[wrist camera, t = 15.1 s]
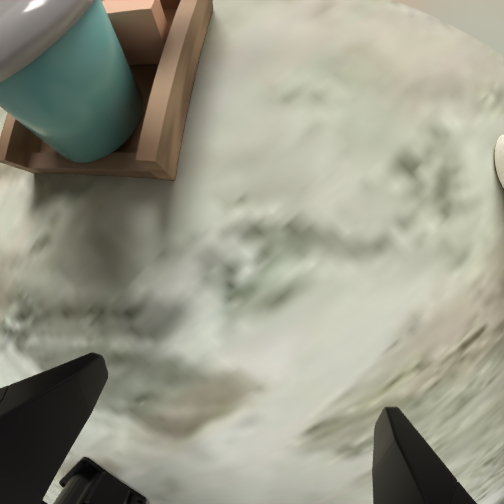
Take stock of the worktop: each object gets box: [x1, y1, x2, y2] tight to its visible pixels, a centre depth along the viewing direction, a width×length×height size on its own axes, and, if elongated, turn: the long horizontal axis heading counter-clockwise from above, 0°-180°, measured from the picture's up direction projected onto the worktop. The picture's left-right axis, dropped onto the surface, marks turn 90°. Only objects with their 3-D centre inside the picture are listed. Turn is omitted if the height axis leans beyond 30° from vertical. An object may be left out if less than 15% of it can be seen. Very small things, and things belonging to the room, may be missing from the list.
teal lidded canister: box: [0, 0, 144, 163], centre depth 11 cm, size 7×7×10 cm
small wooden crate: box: [0, 0, 213, 180], centre depth 14 cm, size 14×11×6 cm
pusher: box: [102, 0, 169, 65], centre depth 13 cm, size 1×8×6 cm, turn 82°
